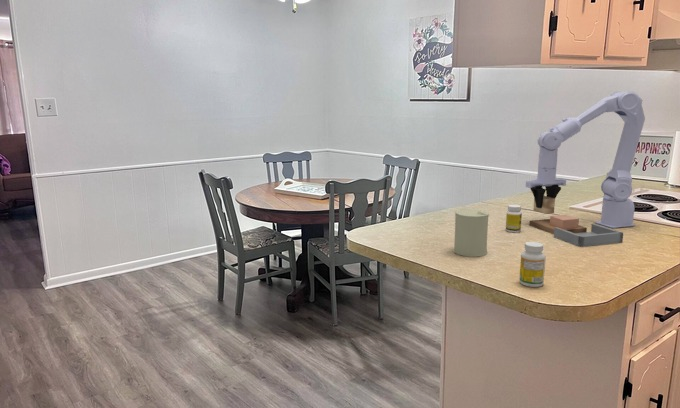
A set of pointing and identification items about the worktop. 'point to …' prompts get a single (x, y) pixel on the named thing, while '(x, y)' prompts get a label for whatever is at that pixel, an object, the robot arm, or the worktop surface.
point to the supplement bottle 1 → (513, 218)
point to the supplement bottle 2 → (532, 265)
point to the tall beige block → (546, 205)
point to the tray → (590, 236)
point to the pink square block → (564, 221)
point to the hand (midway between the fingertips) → (544, 207)
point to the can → (471, 232)
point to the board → (547, 227)
